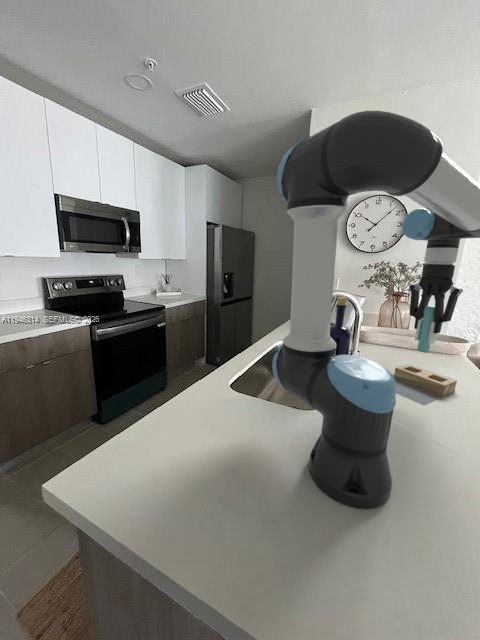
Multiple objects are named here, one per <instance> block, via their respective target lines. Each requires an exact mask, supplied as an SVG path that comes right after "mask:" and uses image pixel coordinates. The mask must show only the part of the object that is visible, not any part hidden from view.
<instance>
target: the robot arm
mask: <svg viewBox="0 0 480 640" xmlns="http://www.w3.org/2000/svg"><path fill="white" fill-rule="evenodd" d="M276 175H277V176H276V184H277V186H276V187H277V189H278V190H277V191H278V193H279V194H280V195H281V196H282V197H281V199H282V200H283V202H285V204H286V205H287V206H286V209H287V210H286V211H287V212H286V213H287V214H288V216H290V218H291V219H292V221H294V223H293V247H292V270H291V271H292V273H291V293H290V294H291V298H290V320H289V321H290V323H289V324H290V325H289V333H288V334H287V335H286V336H285V337H284V338H283V339H282V343H281V344H280V345H279V347H278V348H277V352H275V353H274V356H273V358H272V365H271V367H272V374H273V376H274V377H273V378H274V379H275V380H276V382H277V383H278V384H279V385H280V386H281V387H282V388H283V389H284V390H285V391H287V393H289V394H291V395H294V396H295V397H296V398H298V399H300V400H301V401H302V402H304V404H307V405H308V406H310V407H311V408H312V409H314V410H316V411H317V412H318V413H319V414H321V416H322V422H321V423H322V424H321V425H322V426H321V432H320V434H319V436H318V438H317V439H316V442H315V444H314V446H313V447H312V450H311V452H310V453H309V454H310V455H309V460H308V461H309V463H308V471H309V475H310V476H311V479H312V481H313V482H314V484H315V485H316V486H317V487H318V488H319V490H321V491H322V492H323V493H324V494H325V495H327V496H328V497H330V498H331V499H333V500H334V501H336V502H338V503H341V504H343V505H346V506H349V507H352V508H357V509H373V508H374V509H375V508H377V507H380V506H382V505H384V504H386V502H387V501H388V500H389V499H390V496H391V493H392V492H391V490H392V486H393V478H392V477H393V476H392V474H391V470H390V465H389V464H390V463H389V459H388V454H387V448H388V444H389V443H388V442H389V438H390V433H391V432H390V431H391V426H392V421H393V416H394V410H395V407H396V405H397V404H396V402H397V397H396V396H397V393H396V382H395V380H394V377H393V373H391V372H390V371H389V370H388V369H387V368H386V367H385V366H383V365H382V364H380V363H378V362H376V361H374V360H371V359H369V358H366V357H364V356H363V357H362V356H361V357H359V356H357V355H354V354H349V355H337V356H335V354H336V342H335V341H334V340H333V339H332V338H331V337H330V327H331V322H332V321H331V320H332V312H333V311H332V309H333V297H334V296H333V294H334V281H335V268H336V257H337V244H338V242H337V241H338V232H339V231H338V229H339V220H340V218H342V216H343V215H345V214H346V213H347V212H348V209H349V208H348V207H349V197H350V196H352V195H356V194H358V193H359V194H360V193H364V192H385V193H386V194H388V195H390V196H393V197H403V196H405V197H407V198H408V199H410V200H412V201H413V202H415V203H417V204H419V205H420V206H421V207H424V208H417V209H413V210H412V211H410V212H409V213H407V215H406V216H405V217H404V219H403V221H402V225H401V226H402V227H401V230H402V233H403V235H404V236H405V237H407V238H408V239H411V240H413V241H427V242H426V248H425V249H426V250H425V255H424V259H423V261H424V262H425V263H424V264H423V265H422V270H421V278H420V280H419V281H418V282H417V283H415V284H414V283H413V284H410V285H409V290H410V300H409V301H410V303H409V304H410V305H409V316H411V317H414V318H415V321H414V327H413V328H414V329H415V330H416V332H415V339H414V340H415V341H417V342H419V338H420V332H421V326H422V321H423V315H424V310H425V306H429V302H430V300H431V298H432V296H433V297H434V306H435V321H434V322H431V327H430V333H429V338H428V343H429V344H430V345H431V344H435V342H436V339H437V334H440V333H441V332H442V326H443V323H447V322H451V320H452V318H453V315H454V311H455V308H456V305H457V302H458V299H459V296H460V295H462V293H463V292H464V290H463V288H461V287H458V286H455V285H454V283H453V277H454V273H455V269H456V266H455V264H454V263H456V262H457V258H458V253H459V249H460V248H459V247H460V241H461V239H480V183H478V182H477V181H476V180H475V179H474V178H472V177H471V176H470V175H469V174H468V173H467V172H465V171H464V170H463V169H462V168H461V167H460V166H458V164H456V163H455V162H454V161H453V160H452V159H450V158H449V157H448V156H447V155H446V154H445V153H444V146H443V142H442V140H441V139H440V137H439V136H438V135H436V134H435V133H434V132H433V131H432V130H430V129H429V128H428V127H426V126H425V125H423V124H422V123H420V122H418V121H416V120H414V119H413V118H409V117H407V116H404V115H401V114H399V113H398V114H397V113H394V112H389V111H383V110H363V111H358V112H355V113H351V114H348V115H347V116H345V117H343V118H342V119H340V120H338V121H337V122H335V123H332V124H331V125H329V126H328V127H326V128H324V129H322V130H320V131H318V132H316V133H314V134H312V135H310V136H307V137H304V138H302V139H301V140H299V141H298V142H296V144H295V145H293V146H292V147H290V148H289V149H288V150H287V152H285V154H284V155H283V156H282V158H281V161H280V163H279V166H278V169H277V174H276ZM420 290H422V294H421V298H420ZM448 291H449V296H448V300H447V302H446V305H445V306H444V304H445V299H446V293H447V292H448ZM419 301H420V302H419Z"/></svg>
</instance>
